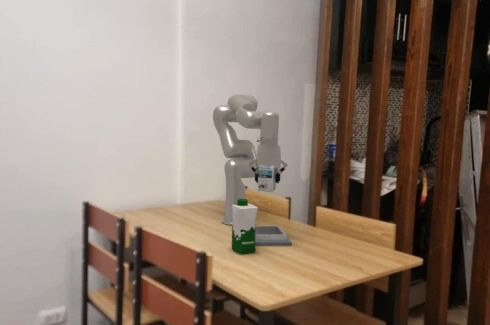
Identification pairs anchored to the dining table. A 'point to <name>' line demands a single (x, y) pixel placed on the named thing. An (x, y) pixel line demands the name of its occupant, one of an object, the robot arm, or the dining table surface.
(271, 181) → the light bulb box
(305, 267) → the dining table surface
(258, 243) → the dock board
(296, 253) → the dining table surface
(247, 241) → the milk carton
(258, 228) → the aluminium frame
